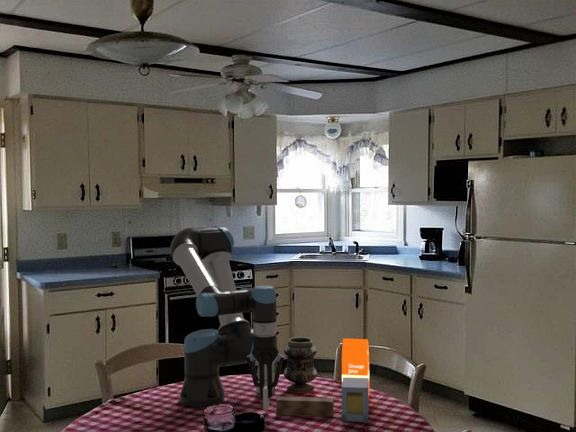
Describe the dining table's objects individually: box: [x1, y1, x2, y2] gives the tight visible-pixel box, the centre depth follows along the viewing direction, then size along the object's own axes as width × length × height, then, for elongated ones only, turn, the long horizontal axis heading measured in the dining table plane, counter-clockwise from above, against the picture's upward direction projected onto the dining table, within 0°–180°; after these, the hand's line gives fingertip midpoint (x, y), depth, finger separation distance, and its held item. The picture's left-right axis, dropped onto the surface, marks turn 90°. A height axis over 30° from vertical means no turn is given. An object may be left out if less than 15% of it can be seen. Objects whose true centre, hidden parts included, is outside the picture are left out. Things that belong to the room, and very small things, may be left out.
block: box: [347, 392, 363, 413], centre depth 194 cm, size 5×5×7 cm
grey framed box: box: [341, 378, 370, 423], centre depth 194 cm, size 8×10×10 cm
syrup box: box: [255, 357, 278, 394], centre depth 218 cm, size 6×6×14 cm
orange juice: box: [341, 338, 370, 398], centre depth 212 cm, size 8×9×20 cm
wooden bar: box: [275, 396, 335, 418], centre depth 197 cm, size 18×4×5 cm, turn 83°
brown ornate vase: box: [283, 336, 318, 394], centre depth 221 cm, size 12×12×18 cm
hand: (266, 407), depth 198 cm, fingers closed
